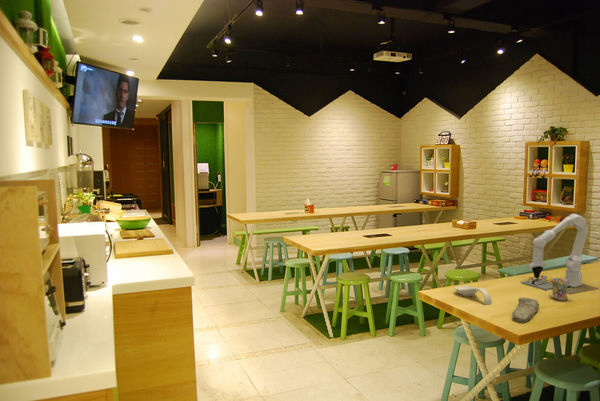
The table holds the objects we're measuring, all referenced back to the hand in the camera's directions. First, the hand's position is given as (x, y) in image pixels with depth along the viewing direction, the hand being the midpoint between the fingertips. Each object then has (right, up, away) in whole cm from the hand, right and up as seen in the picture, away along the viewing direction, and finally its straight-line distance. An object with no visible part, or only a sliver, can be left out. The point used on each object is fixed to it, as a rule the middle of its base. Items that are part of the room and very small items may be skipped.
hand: (536, 277), depth 285 cm
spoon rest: (-52, -6, -32) cm, 62 cm away
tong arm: (-1, -2, -5) cm, 6 cm away
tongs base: (-2, -2, -4) cm, 5 cm away
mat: (-1, -3, -6) cm, 7 cm away
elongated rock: (-34, -9, -54) cm, 64 cm away
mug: (-4, -6, -30) cm, 31 cm away
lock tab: (-5, -2, -2) cm, 5 cm away
